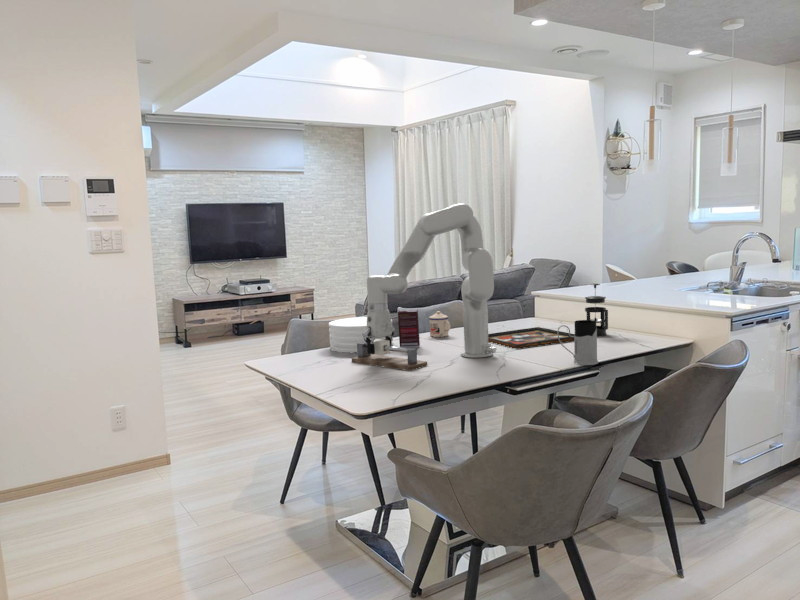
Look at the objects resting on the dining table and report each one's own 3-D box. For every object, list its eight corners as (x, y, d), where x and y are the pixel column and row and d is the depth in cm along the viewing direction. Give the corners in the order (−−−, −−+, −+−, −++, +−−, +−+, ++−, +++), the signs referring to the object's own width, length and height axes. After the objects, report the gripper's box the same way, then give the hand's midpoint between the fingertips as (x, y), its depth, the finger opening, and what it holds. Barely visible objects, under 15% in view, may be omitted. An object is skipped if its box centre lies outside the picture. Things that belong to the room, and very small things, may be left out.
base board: (427, 365, 235) (427, 361, 235) (410, 370, 228) (409, 366, 228) (369, 357, 255) (369, 353, 255) (351, 361, 248) (351, 358, 247)
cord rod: (418, 362, 234) (417, 346, 234) (410, 364, 231) (410, 348, 230) (365, 355, 252) (364, 340, 252) (357, 357, 249) (356, 342, 248)
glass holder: (599, 365, 224) (599, 323, 222) (558, 365, 226) (558, 323, 225) (596, 359, 232) (596, 319, 231) (557, 360, 235) (556, 320, 233)
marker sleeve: (390, 353, 244) (389, 340, 243) (381, 355, 240) (380, 342, 239) (378, 351, 248) (378, 339, 247) (369, 353, 244) (369, 341, 243)
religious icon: (532, 330, 305) (531, 324, 305) (588, 340, 275) (588, 333, 275) (469, 341, 285) (469, 335, 285) (523, 353, 256) (523, 346, 255)
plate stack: (320, 346, 285) (318, 321, 284) (375, 339, 299) (374, 315, 298) (346, 356, 261) (344, 328, 260) (404, 347, 274) (403, 321, 273)
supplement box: (420, 345, 276) (418, 309, 274) (419, 348, 271) (417, 311, 269) (400, 346, 276) (398, 310, 275) (399, 348, 272) (397, 311, 270)
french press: (579, 334, 287) (578, 283, 284) (593, 331, 292) (593, 282, 289) (599, 337, 277) (598, 285, 274) (614, 335, 282) (613, 283, 279)
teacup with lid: (425, 336, 300) (424, 311, 299) (439, 333, 306) (438, 309, 305) (443, 338, 291) (442, 313, 290) (457, 335, 297) (456, 311, 295)
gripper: (369, 310, 233) (371, 356, 235) (400, 305, 246) (401, 348, 248) (354, 309, 238) (357, 354, 240) (385, 304, 251) (387, 347, 253)
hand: (379, 351), depth 244 cm, fingers open, 9 cm apart
